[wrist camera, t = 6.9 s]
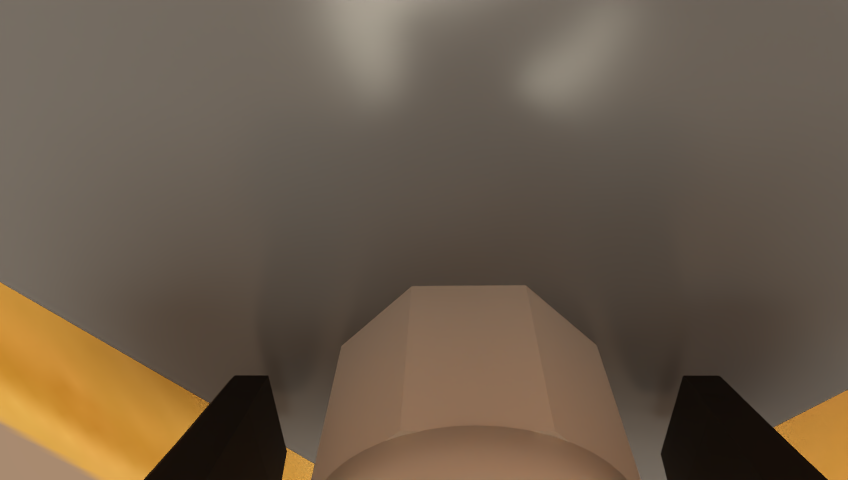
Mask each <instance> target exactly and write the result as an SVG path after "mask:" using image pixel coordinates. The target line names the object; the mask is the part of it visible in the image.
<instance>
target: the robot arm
mask: <svg viewBox="0 0 848 480" xmlns="http://www.w3.org/2000/svg"><path fill="white" fill-rule="evenodd" d="M286 453H287V450H286V446H285V442H284V438H283V434H282V429H281V425H280V421H279V417H278V413H277V409H276V405H275V401H274V397H273V392H272V388H271V384H270V380H269V376H268V375H235V376H234V377H232V378H231V379H230V380H229V381H228V383H227V384H226V385H225V386H224V387H223V389H222V390H221V391H220V392H219V393H218V395H217V396H216V397H215V398H214V399H213V400H212V402H211V403H210V404H209V405H208V406H207V408H206V409H205V410H204V411H203V412H202V414H201V415H200V416H199V417H198V418H197V420H196V421H195V422H194V423H193V424H192V425H191V427H190V428H189V429H188V430H187V431H186V432H185V434H184V435H183V436H182V437H181V438H180V439H179V441H178V442H177V443H176V444H175V445H174V446H173V447H172V449H171V450H170V451H169V452H168V453H167V454H166V455H165V456H164V457H163V459H162V460H161V461H160V462H159V463H158V464H157V465H156V466H155V468H154V469H153V470H152V471H151V472H150V473H149V474H148V475H147V477H146V478H145V479H144V480H282V475H283V470H284V464H285V459H286ZM661 458H662V462H663V466H664V470H665V474H666V477H667V480H828V479H827V478H825V477H824V476H823V475H822V474H821V473H820V472H819V471H818V470H817V469H816V468H815V467H814V466H813V465H811V464H810V463H809V462H808V461H807V460H806V459H805V458H804V457H803V456H802V455H801V454H800V453H799V452H798V451H797V450H796V449H795V448H794V447H793V446H791V445H790V444H789V443H788V442H787V441H786V440H785V439H784V438H783V437H782V436H781V435H780V434H779V433H778V432H777V431H776V430H775V429H774V428H773V427H772V426H771V425H770V424H769V423H768V422H767V421H766V420H765V419H764V418H763V417H762V416H761V415H760V414H759V413H758V412H756V411H755V410H754V409H753V408H752V407H751V406H750V405H749V404H748V403H747V402H746V401H745V400H744V399H743V398H742V397H741V396H740V395H739V394H738V393H737V392H736V391H735V390H734V389H733V388H732V387H731V386H730V385H729V384H728V383H727V382H726V381H725V380H724V379H723V378H722V377H720V376H683V377H682V381H681V384H680V388H679V391H678V395H677V398H676V402H675V405H674V409H673V412H672V416H671V419H670V422H669V426H668V429H667V433H666V436H665V440H664V443H663V447H662V450H661Z"/></svg>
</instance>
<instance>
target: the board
mask: <svg viewBox="0 0 848 480" xmlns="http://www.w3.org/2000/svg"><path fill="white" fill-rule="evenodd" d="M0 282H1V283H3V284H4V285H6V286H8V287H10V288H11V289H13V290H15V291H17V292H18V293H20V294H22V295H23V296H25V297H27V298H29V299H30V300H32V301H34V302H36V303H37V304H39V305H41V306H43V307H44V308H46V309H48V310H49V311H51V312H53V313H55V314H56V315H58V316H60V317H62V318H63V319H65V320H67V321H68V322H70V323H72V324H74V325H75V326H77V327H79V328H81V329H82V330H84V331H86V332H88V333H89V334H91V335H93V336H94V337H96V338H98V339H100V340H101V341H103V342H105V343H107V344H108V345H110V346H112V347H114V348H115V349H117V350H119V351H120V352H122V353H124V354H126V355H127V356H129V357H131V358H133V359H134V360H136V361H138V362H139V363H141V364H143V365H145V366H146V367H148V368H150V369H152V370H153V371H155V372H157V373H159V374H160V375H162V376H164V377H165V378H167V379H169V380H171V381H172V382H174V383H176V384H178V385H179V386H181V387H183V388H184V389H186V390H188V391H190V392H191V393H193V394H195V395H197V396H198V397H200V398H202V399H204V400H205V401H207V402H209V403H211V402H212V400H213V399H214V398H215V397H216V396H217V395H218V393H219V392H220V391H221V390H222V389H223V387H224V386H225V385H226V384H227V383H228V381H229V380H230V379H231V378H232V377H234V376H235V375H268V376H269V380H270V384H271V388H272V392H273V397H274V401H275V405H276V409H277V413H278V417H279V421H280V425H281V429H282V434H283V438H284V442H285V446H286V447H287V448H288V449H290V450H292V451H294V452H295V453H297V454H299V455H301V456H302V457H304V458H306V459H307V460H309V461H311V462H313V463H314V464H315V461H316V456H317V452H318V447H319V443H320V439H321V434H322V430H323V425H324V421H325V416H326V412H327V408H328V403H329V399H330V394H331V390H332V385H333V381H334V376H335V372H336V368H337V363H338V359H339V354H340V350H341V346H342V345H343V344H344V343H346V342H347V341H348V340H349V339H350V338H351V337H353V336H354V335H355V334H356V333H357V332H358V331H360V330H361V329H362V328H363V327H364V326H366V325H367V324H368V323H369V322H370V321H371V320H373V319H374V318H375V317H376V316H377V315H378V314H380V313H381V312H382V311H383V310H384V309H385V308H387V307H388V306H389V305H390V304H391V303H393V302H394V301H395V300H396V299H397V298H398V297H400V296H401V295H402V294H403V293H404V292H405V291H407V290H408V289H409V288H410V287H411V286H487V285H526V286H527V287H528V288H530V289H531V290H532V291H533V292H534V293H535V294H537V295H538V296H539V297H540V298H541V299H543V300H544V301H545V302H546V303H547V304H548V305H550V306H551V307H552V308H553V309H554V310H556V311H557V312H558V313H559V314H560V315H561V316H563V317H564V318H565V319H566V320H567V321H569V322H570V323H571V324H572V325H573V326H574V327H576V328H577V329H578V330H579V331H580V332H582V333H583V334H584V335H585V336H586V337H587V338H589V339H590V340H591V341H592V342H593V343H595V344H596V345H597V348H598V351H599V354H600V357H601V360H602V363H603V366H604V369H605V372H606V375H607V378H608V381H609V384H610V387H611V390H612V393H613V396H614V399H615V402H616V405H617V408H618V411H619V415H620V418H621V421H622V424H623V427H624V430H625V433H626V436H627V439H628V442H629V445H630V448H631V451H632V454H633V457H634V460H635V463H636V466H637V469H638V472H639V475H640V478H641V480H667V477H666V474H665V470H664V466H663V462H662V458H661V450H662V447H663V443H664V440H665V436H666V433H667V429H668V426H669V422H670V419H671V416H672V412H673V409H674V405H675V402H676V398H677V395H678V391H679V388H680V384H681V381H682V377H683V376H720V377H722V378H723V379H724V380H725V381H726V382H727V383H728V384H729V385H730V386H731V387H732V388H733V389H734V390H735V391H736V392H737V393H738V394H739V395H740V396H741V397H742V398H743V399H744V400H745V401H746V402H747V403H748V404H749V405H750V406H751V407H752V408H753V409H754V410H755V411H756V412H758V413H759V414H760V415H761V416H762V417H763V418H764V419H765V420H766V421H767V422H768V423H769V424H770V425H771V426H772V427H775V426H777V425H779V424H781V423H783V422H785V421H787V420H789V419H791V418H793V417H795V416H797V415H799V414H801V413H803V412H805V411H807V410H809V409H811V408H813V407H814V406H816V405H818V404H820V403H822V402H824V401H826V400H828V399H830V398H832V397H834V396H836V395H838V394H840V393H842V392H844V391H846V390H848V0H0Z"/></svg>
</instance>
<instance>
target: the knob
mask: <svg viewBox="0 0 848 480" xmlns="http://www.w3.org/2000/svg"><path fill="white" fill-rule="evenodd" d="M311 480H641V478H640V475H639V472H638V469H637V466H636V463H635V460H634V457H633V454H632V451H631V448H630V445H629V442H628V439H627V436H626V433H625V430H624V427H623V424H622V421H621V418H620V415H619V411H618V408H617V405H616V402H615V399H614V396H613V393H612V390H611V387H610V384H609V381H608V378H607V375H606V372H605V369H604V366H603V363H602V360H601V357H600V354H599V351H598V348H597V345H596V344H595V343H593V342H592V341H591V340H590V339H589V338H587V337H586V336H585V335H584V334H583V333H582V332H580V331H579V330H578V329H577V328H576V327H574V326H573V325H572V324H571V323H570V322H569V321H567V320H566V319H565V318H564V317H563V316H561V315H560V314H559V313H558V312H557V311H556V310H554V309H553V308H552V307H551V306H550V305H548V304H547V303H546V302H545V301H544V300H543V299H541V298H540V297H539V296H538V295H537V294H535V293H534V292H533V291H532V290H531V289H530V288H528V287H527V286H526V285H487V286H411V287H410V288H409V289H408V290H407V291H405V292H404V293H403V294H402V295H401V296H400V297H398V298H397V299H396V300H395V301H394V302H393V303H391V304H390V305H389V306H388V307H387V308H385V309H384V310H383V311H382V312H381V313H380V314H378V315H377V316H376V317H375V318H374V319H373V320H371V321H370V322H369V323H368V324H367V325H366V326H364V327H363V328H362V329H361V330H360V331H358V332H357V333H356V334H355V335H354V336H353V337H351V338H350V339H349V340H348V341H347V342H346V343H344V344H343V345H342V346H341V350H340V354H339V359H338V363H337V368H336V372H335V376H334V381H333V385H332V390H331V394H330V399H329V403H328V408H327V412H326V416H325V421H324V425H323V430H322V434H321V439H320V443H319V447H318V452H317V456H316V461H315V465H314V470H313V474H312V479H311Z"/></svg>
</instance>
